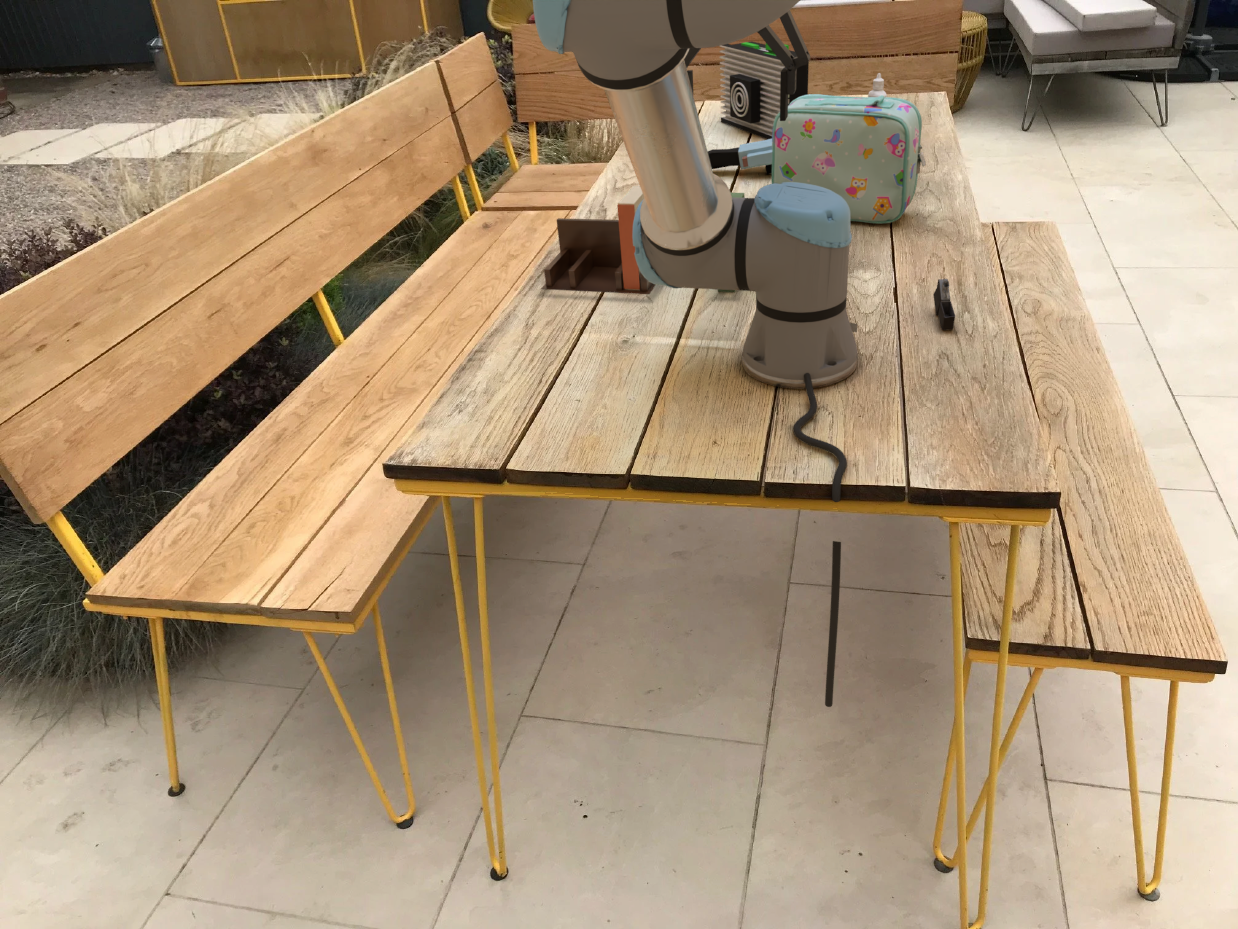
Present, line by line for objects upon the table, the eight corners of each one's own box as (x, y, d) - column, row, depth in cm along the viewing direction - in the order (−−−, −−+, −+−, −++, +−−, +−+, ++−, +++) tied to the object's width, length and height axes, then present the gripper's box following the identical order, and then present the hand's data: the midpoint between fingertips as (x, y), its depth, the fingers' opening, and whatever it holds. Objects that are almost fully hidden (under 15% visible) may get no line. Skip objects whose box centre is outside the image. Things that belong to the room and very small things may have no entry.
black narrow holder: (953, 340, 136) (960, 321, 131) (938, 341, 136) (945, 321, 131) (947, 293, 139) (954, 272, 134) (932, 293, 139) (939, 273, 134)
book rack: (650, 301, 150) (646, 245, 145) (541, 295, 155) (534, 241, 150) (667, 274, 159) (664, 220, 153) (564, 269, 164) (558, 217, 159)
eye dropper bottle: (865, 130, 222) (869, 76, 215) (866, 124, 226) (869, 71, 220) (885, 130, 221) (889, 75, 214) (884, 123, 226) (888, 70, 219)
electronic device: (710, 123, 238) (708, 37, 227) (747, 116, 242) (747, 31, 231) (771, 147, 216) (772, 53, 206) (811, 138, 220) (814, 45, 209)
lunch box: (924, 212, 173) (937, 89, 162) (908, 231, 166) (920, 103, 155) (787, 198, 186) (789, 83, 174) (766, 215, 179) (767, 96, 167)
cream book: (639, 290, 151) (633, 203, 143) (624, 289, 151) (617, 203, 144) (654, 269, 157) (649, 185, 150) (638, 269, 158) (633, 185, 151)
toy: (680, 143, 206) (821, 117, 198) (687, 178, 210) (825, 155, 202) (675, 156, 198) (821, 130, 190) (682, 193, 202) (825, 169, 194)
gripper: (834, -57, 124) (827, 111, 136) (650, -46, 131) (658, 113, 142) (828, -52, 118) (821, 124, 130) (636, -40, 125) (645, 126, 136)
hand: (736, 119), depth 136 cm, fingers open, 13 cm apart
